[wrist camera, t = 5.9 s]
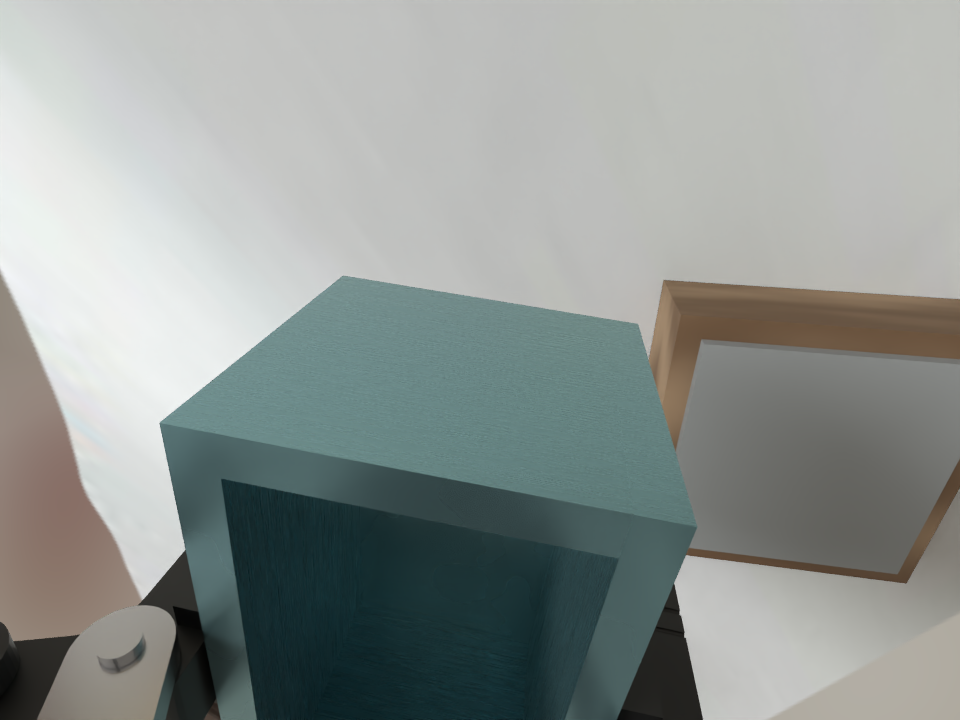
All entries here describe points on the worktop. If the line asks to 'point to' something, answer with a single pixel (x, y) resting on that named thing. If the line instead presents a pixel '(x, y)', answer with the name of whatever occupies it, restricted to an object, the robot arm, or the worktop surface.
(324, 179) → the worktop surface
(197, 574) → the box
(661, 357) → the stand
